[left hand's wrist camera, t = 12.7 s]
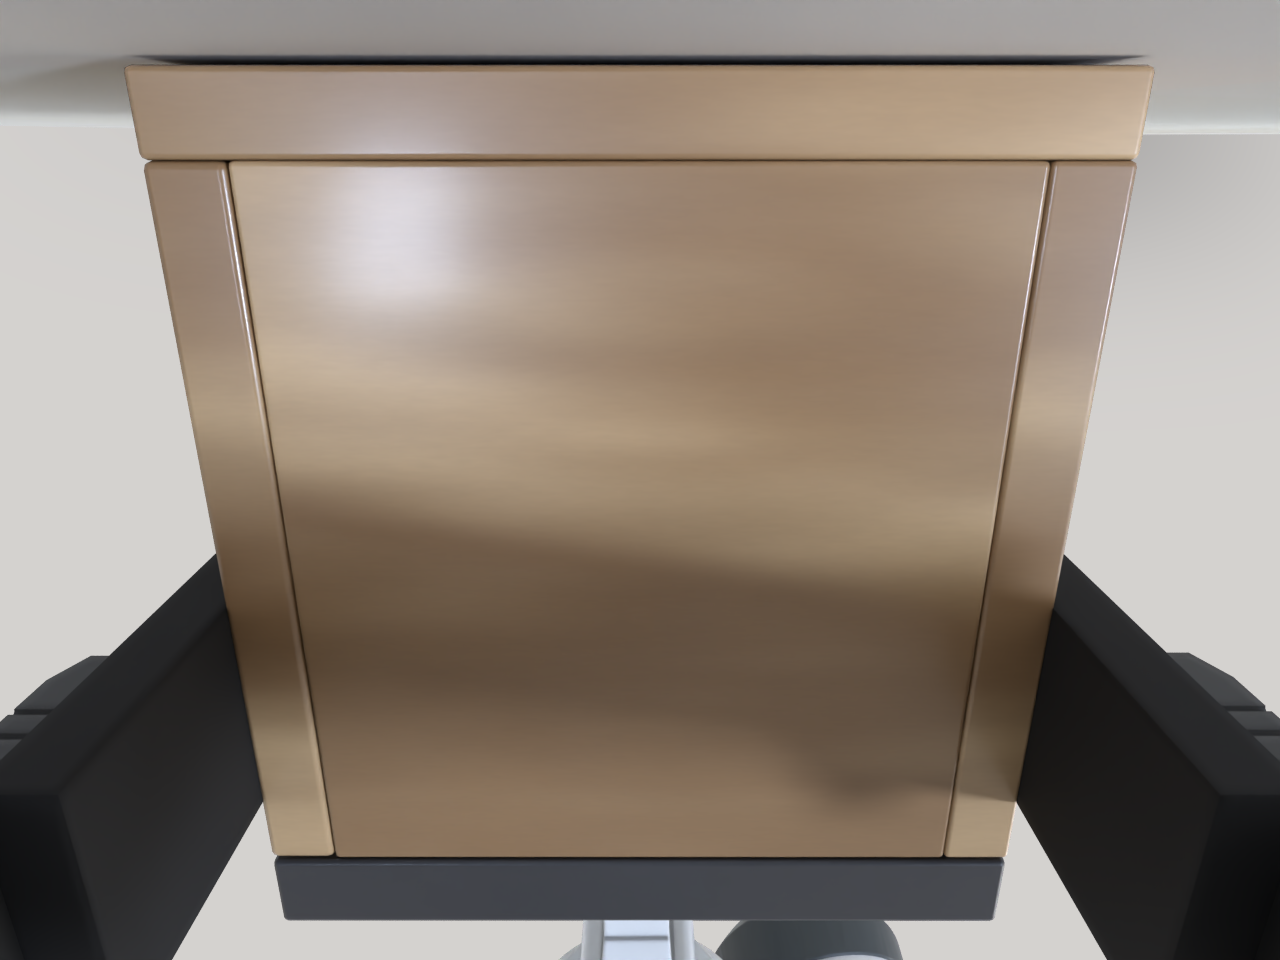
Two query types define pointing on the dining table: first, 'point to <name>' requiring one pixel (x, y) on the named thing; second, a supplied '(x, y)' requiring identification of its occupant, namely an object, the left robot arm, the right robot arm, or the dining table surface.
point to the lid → (640, 888)
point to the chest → (639, 438)
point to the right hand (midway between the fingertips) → (636, 756)
